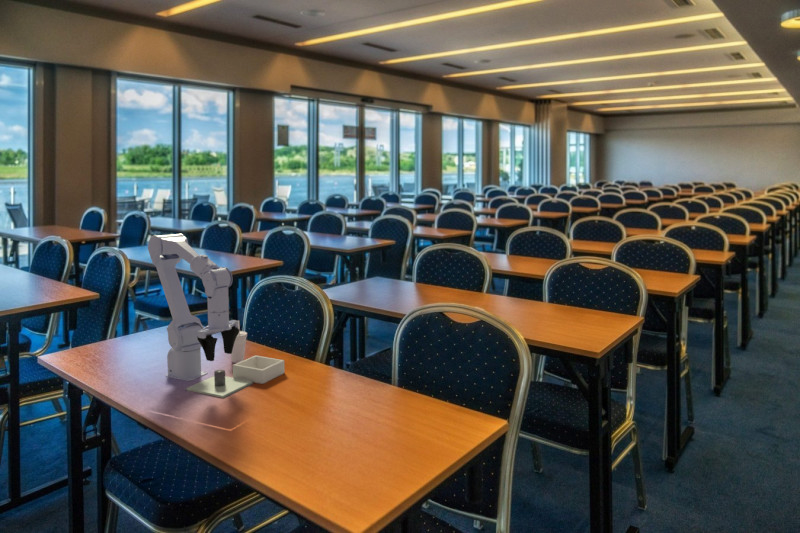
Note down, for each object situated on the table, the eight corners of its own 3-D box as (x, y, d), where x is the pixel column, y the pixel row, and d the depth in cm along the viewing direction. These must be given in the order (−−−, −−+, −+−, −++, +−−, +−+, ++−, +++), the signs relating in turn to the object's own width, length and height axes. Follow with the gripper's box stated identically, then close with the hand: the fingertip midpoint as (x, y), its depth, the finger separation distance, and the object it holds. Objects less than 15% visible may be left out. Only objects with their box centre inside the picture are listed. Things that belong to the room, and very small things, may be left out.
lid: (186, 390, 170) (185, 374, 169) (217, 376, 182) (217, 361, 181) (222, 397, 165) (222, 381, 164) (252, 383, 176) (252, 368, 176)
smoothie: (242, 365, 193) (241, 323, 191) (224, 364, 195) (223, 322, 192) (251, 359, 199) (250, 319, 197) (233, 358, 201) (232, 317, 199)
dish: (232, 379, 181) (232, 365, 180) (255, 368, 190) (255, 355, 190) (262, 385, 176) (262, 370, 175) (284, 374, 186) (284, 360, 185)
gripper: (211, 317, 161) (213, 365, 164) (246, 307, 175) (246, 352, 177) (191, 314, 164) (193, 362, 166) (226, 304, 177) (227, 348, 180)
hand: (219, 356), depth 172 cm, fingers open, 7 cm apart
